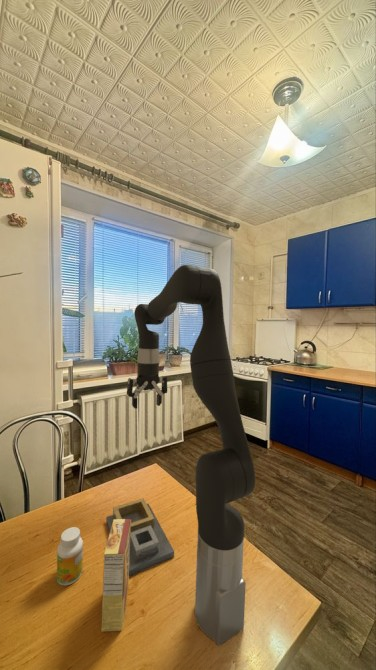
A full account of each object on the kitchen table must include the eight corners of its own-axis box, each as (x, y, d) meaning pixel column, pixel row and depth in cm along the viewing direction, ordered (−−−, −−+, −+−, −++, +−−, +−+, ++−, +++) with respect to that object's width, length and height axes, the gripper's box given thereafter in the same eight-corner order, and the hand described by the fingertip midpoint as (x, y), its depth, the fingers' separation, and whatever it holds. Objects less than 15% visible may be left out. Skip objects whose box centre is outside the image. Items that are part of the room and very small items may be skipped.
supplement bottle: (51, 582, 57) (51, 539, 57) (68, 561, 62) (69, 522, 62) (70, 590, 55) (71, 546, 55) (87, 567, 61) (88, 528, 60)
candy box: (110, 585, 57) (112, 518, 56) (129, 584, 57) (131, 517, 56) (100, 633, 48) (102, 554, 47) (123, 631, 48) (125, 553, 48)
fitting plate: (174, 557, 64) (174, 541, 64) (122, 579, 58) (122, 562, 58) (148, 508, 81) (148, 495, 81) (106, 521, 75) (106, 508, 75)
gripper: (131, 363, 83) (130, 412, 84) (171, 361, 90) (169, 407, 90) (125, 360, 90) (124, 406, 90) (163, 359, 96) (161, 401, 97)
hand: (147, 406), depth 90 cm, fingers open, 8 cm apart
